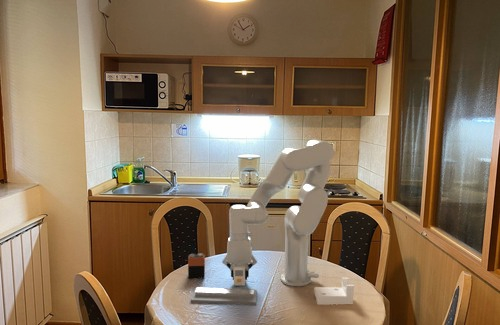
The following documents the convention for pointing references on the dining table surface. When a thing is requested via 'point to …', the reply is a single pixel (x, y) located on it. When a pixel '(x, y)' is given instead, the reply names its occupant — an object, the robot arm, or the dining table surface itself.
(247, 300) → the mounting plate
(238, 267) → the block
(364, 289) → the dining table surface
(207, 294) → the rail
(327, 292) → the bracket
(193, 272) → the battery
